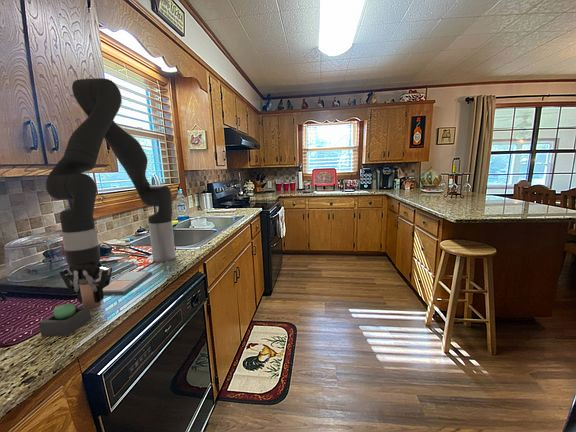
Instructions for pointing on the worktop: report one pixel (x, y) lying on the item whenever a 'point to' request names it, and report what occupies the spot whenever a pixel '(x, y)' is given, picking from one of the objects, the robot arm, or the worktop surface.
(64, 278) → the robot arm
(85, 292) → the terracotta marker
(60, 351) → the worktop surface
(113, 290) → the picture board
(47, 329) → the button housing
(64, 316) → the button
